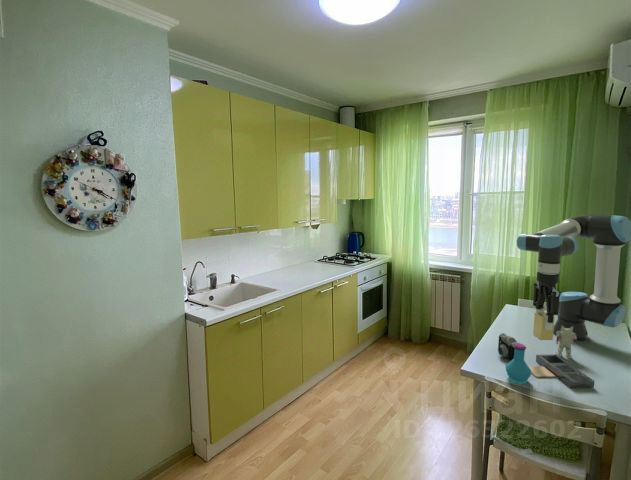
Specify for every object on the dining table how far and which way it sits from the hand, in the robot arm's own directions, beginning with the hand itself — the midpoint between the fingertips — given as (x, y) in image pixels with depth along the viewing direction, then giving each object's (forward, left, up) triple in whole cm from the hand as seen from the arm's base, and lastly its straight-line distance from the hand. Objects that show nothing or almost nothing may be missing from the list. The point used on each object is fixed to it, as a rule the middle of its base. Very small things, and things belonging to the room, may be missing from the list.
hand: (543, 326), depth 145 cm
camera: (+6, -15, -21) cm, 26 cm away
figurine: (-20, -14, -21) cm, 32 cm away
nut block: (0, 0, -5) cm, 5 cm away
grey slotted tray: (-9, +1, -21) cm, 22 cm away
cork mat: (0, 0, -21) cm, 21 cm away
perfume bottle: (+12, +5, -21) cm, 25 cm away
